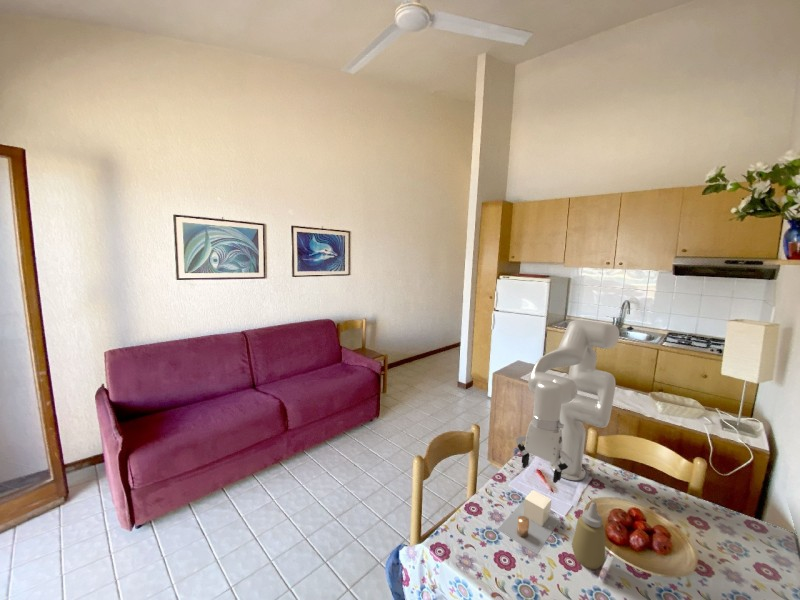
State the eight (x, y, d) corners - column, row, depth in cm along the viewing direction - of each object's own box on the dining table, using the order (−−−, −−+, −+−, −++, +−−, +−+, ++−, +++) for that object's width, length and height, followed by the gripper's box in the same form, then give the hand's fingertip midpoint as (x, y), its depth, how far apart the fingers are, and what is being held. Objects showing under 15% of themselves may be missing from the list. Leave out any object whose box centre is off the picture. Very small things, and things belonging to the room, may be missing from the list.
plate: (523, 503, 116) (523, 499, 116) (560, 523, 108) (560, 520, 108) (497, 532, 103) (497, 529, 103) (536, 558, 95) (536, 554, 95)
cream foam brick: (531, 506, 113) (532, 489, 112) (549, 516, 109) (551, 499, 108) (523, 515, 109) (524, 498, 108) (541, 526, 105) (543, 509, 104)
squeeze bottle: (586, 579, 90) (594, 517, 87) (563, 553, 97) (570, 495, 95) (610, 572, 92) (618, 511, 89) (586, 546, 99) (593, 490, 97)
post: (519, 527, 104) (520, 514, 104) (529, 533, 102) (531, 520, 101) (514, 533, 102) (516, 519, 101) (525, 539, 100) (526, 526, 99)
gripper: (579, 428, 101) (573, 481, 103) (523, 408, 113) (519, 456, 115) (571, 437, 96) (564, 493, 98) (513, 415, 108) (508, 465, 110)
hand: (540, 473), depth 107 cm, fingers open, 9 cm apart
